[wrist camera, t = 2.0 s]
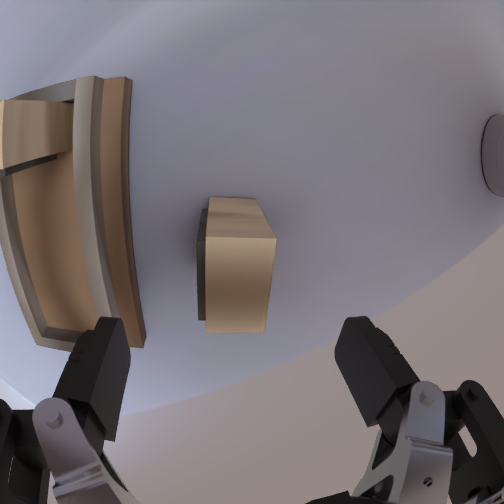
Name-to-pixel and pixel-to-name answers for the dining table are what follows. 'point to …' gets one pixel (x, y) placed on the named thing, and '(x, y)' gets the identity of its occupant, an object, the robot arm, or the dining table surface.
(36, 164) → the rail base
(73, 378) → the robot arm
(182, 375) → the dining table surface
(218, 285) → the maple finger
